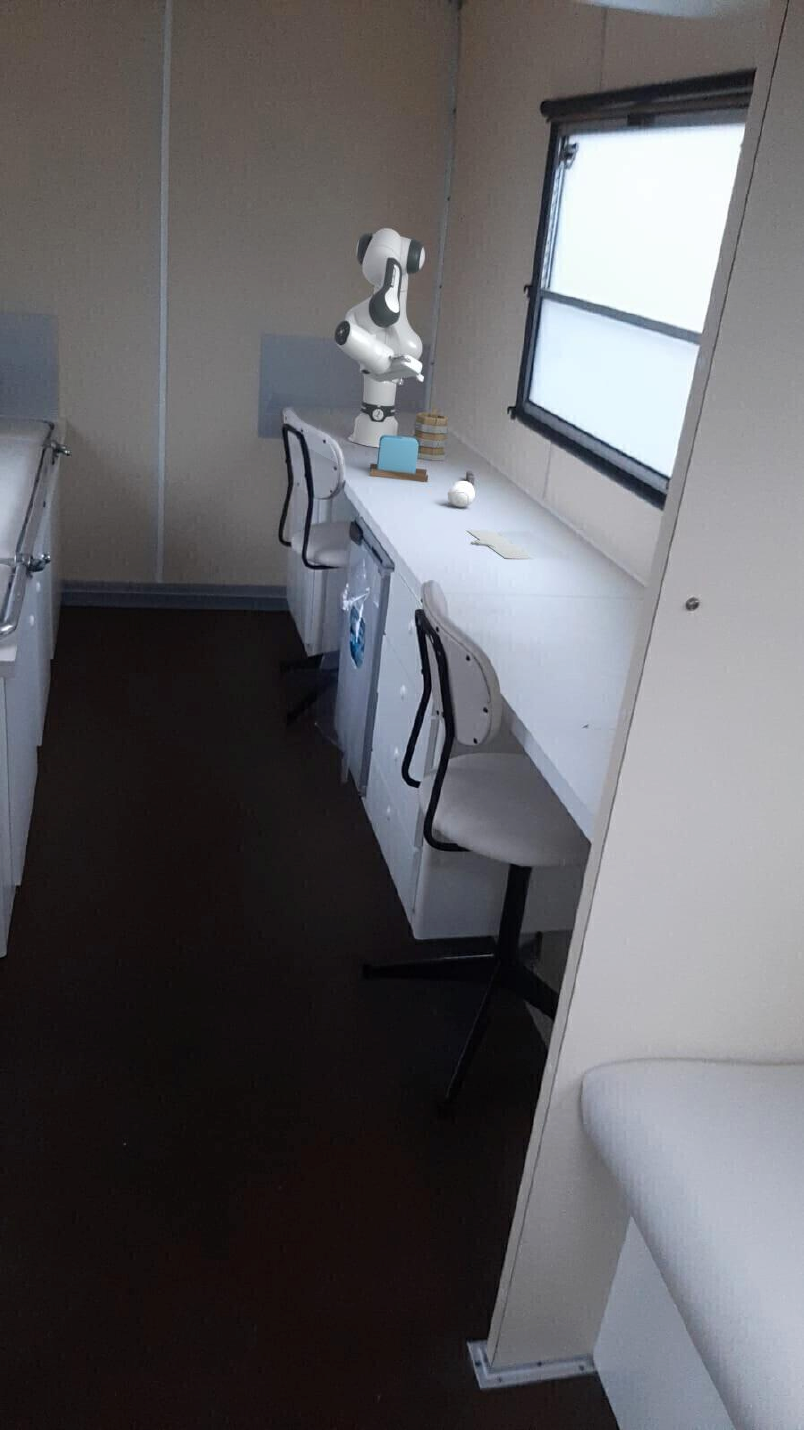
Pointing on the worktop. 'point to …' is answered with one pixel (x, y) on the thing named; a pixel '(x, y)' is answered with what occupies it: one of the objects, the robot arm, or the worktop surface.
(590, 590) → the worktop surface
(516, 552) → the white flat panel
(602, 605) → the worktop surface
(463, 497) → the white ball
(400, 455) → the data package
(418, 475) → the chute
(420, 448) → the tankard
